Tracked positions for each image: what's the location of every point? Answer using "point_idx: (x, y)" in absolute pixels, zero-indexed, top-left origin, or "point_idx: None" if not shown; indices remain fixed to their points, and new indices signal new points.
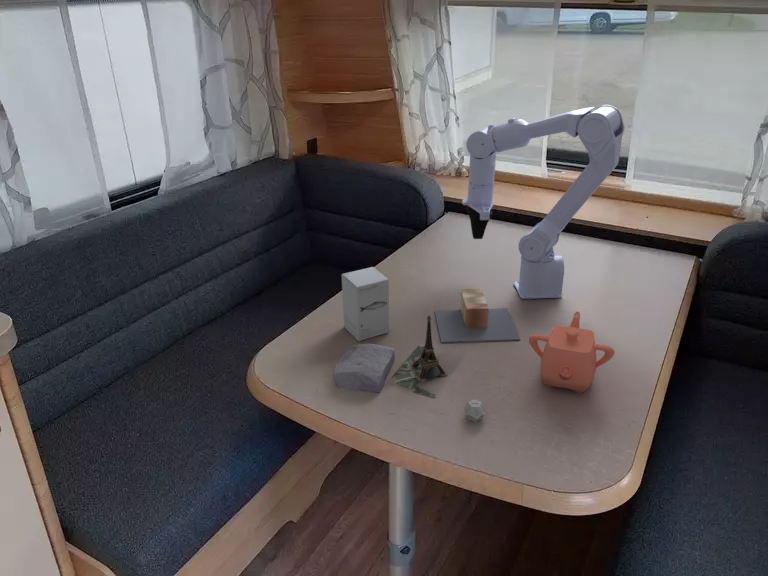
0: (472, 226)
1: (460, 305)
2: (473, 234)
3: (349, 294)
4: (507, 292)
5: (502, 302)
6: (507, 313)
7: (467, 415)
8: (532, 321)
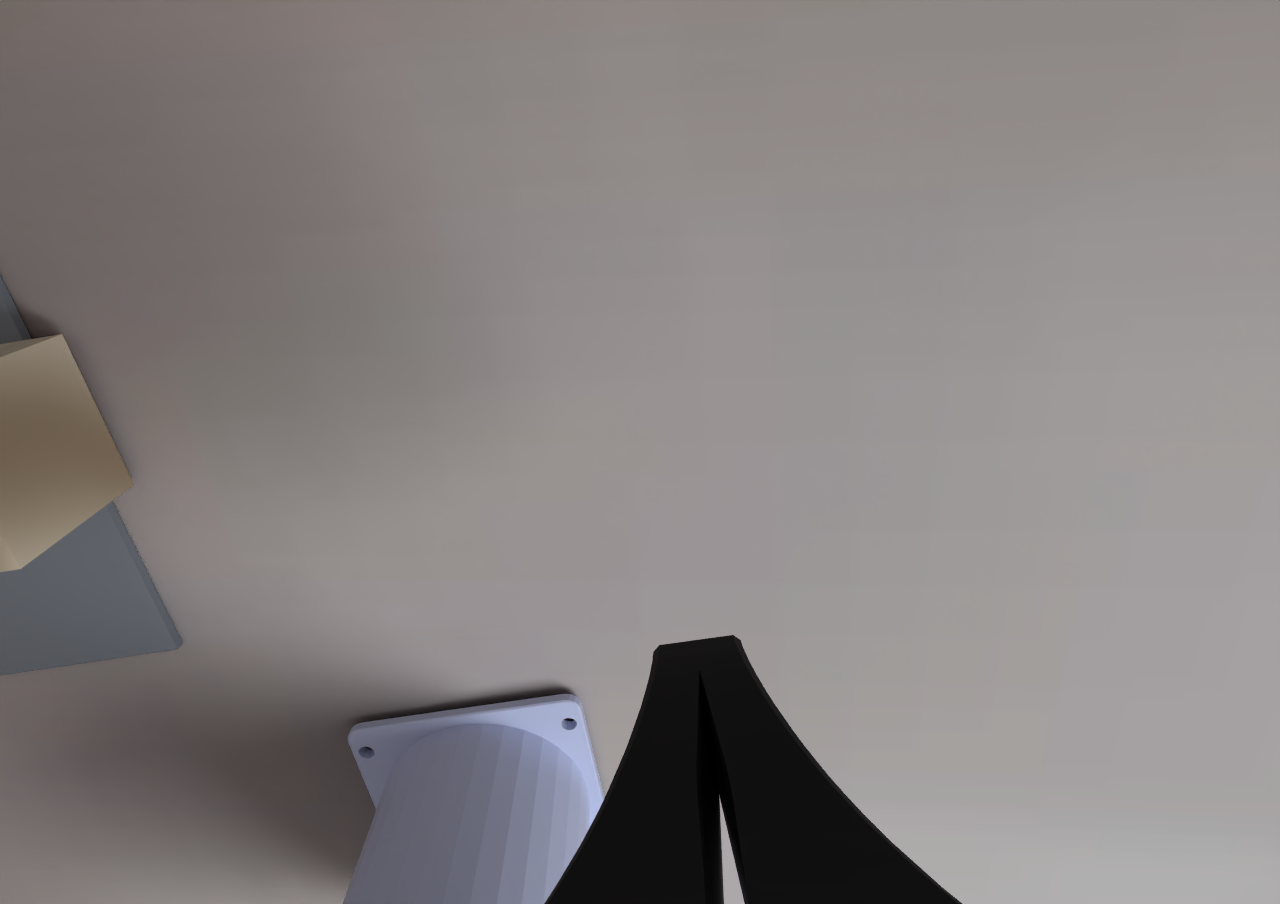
0: (602, 804)
1: (31, 342)
2: (648, 691)
3: None
4: (442, 649)
5: (279, 617)
6: (101, 648)
7: None
8: (79, 763)
